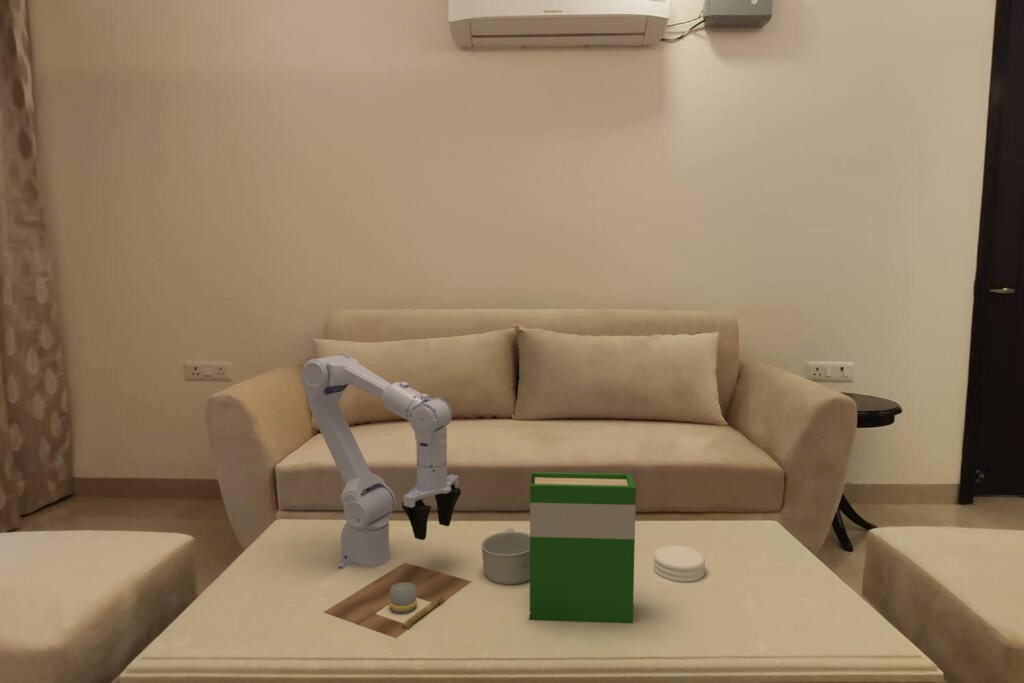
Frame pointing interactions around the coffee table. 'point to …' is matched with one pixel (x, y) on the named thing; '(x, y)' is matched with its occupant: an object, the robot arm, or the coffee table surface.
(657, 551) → the stack of white coasters
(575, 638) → the coffee table surface
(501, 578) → the teacup
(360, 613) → the shelf board
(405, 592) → the gold-banded grey cylinder
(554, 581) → the hardback book
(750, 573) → the coffee table surface
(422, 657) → the coffee table surface
